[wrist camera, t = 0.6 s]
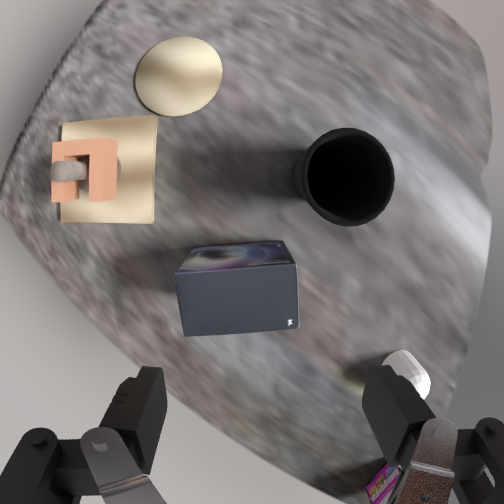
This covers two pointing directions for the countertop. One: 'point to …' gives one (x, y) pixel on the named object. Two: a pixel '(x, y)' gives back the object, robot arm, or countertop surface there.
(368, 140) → the cup
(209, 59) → the coaster
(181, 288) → the small box
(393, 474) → the candy bar box
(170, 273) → the countertop surface
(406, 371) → the capsule
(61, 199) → the c link
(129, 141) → the peg stand
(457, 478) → the robot arm
